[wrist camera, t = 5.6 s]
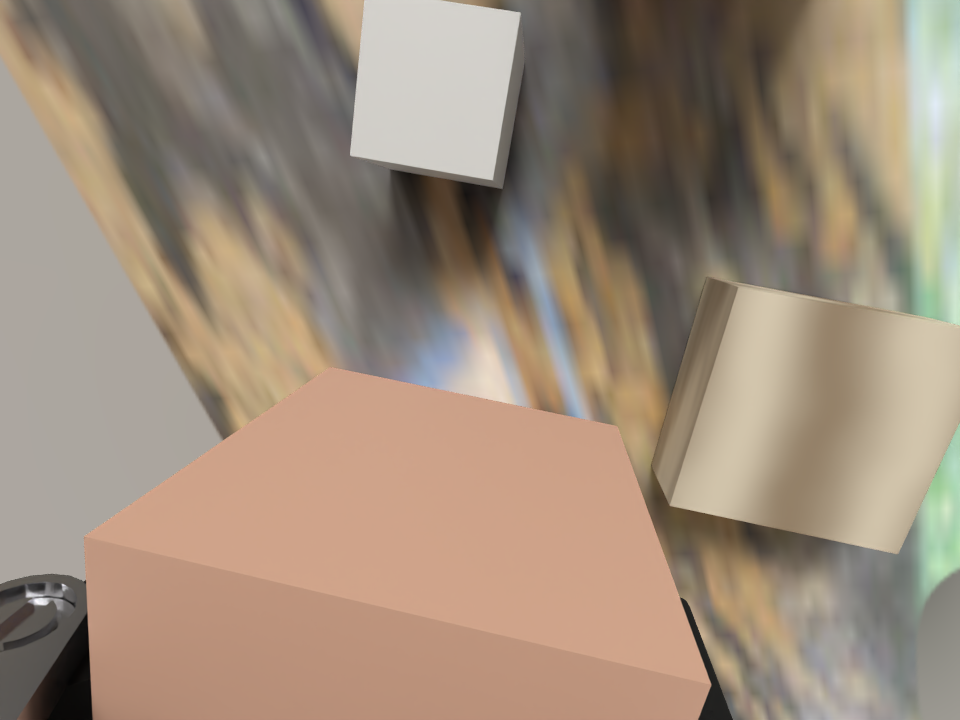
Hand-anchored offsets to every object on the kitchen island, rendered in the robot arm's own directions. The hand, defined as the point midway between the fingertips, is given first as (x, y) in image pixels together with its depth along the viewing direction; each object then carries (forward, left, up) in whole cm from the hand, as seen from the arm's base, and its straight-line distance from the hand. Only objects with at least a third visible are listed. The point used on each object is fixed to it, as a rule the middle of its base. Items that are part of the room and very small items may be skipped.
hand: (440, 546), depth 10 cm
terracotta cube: (0, 0, -1) cm, 1 cm away
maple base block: (-14, 0, -17) cm, 22 cm away
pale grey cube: (+4, -10, -17) cm, 20 cm away
